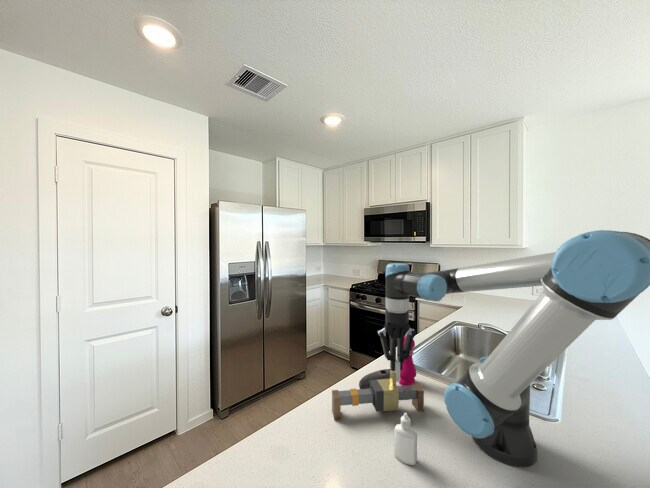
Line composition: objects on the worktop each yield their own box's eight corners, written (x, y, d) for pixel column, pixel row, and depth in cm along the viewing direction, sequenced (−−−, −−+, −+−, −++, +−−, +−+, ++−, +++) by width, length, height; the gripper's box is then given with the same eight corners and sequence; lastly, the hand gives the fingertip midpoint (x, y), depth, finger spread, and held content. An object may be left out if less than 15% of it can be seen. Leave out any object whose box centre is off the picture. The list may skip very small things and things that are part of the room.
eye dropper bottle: (407, 470, 66) (407, 423, 65) (391, 454, 71) (391, 409, 70) (419, 463, 68) (420, 417, 67) (403, 447, 73) (403, 405, 72)
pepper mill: (417, 388, 101) (417, 336, 100) (397, 386, 102) (398, 335, 101) (415, 378, 108) (415, 330, 107) (396, 377, 109) (396, 329, 109)
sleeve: (390, 397, 92) (390, 367, 91) (398, 409, 85) (398, 377, 85) (376, 398, 91) (376, 368, 91) (383, 411, 85) (383, 378, 84)
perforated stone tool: (361, 396, 96) (361, 378, 96) (356, 388, 101) (356, 370, 101) (398, 390, 100) (398, 372, 99) (391, 383, 105) (391, 365, 104)
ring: (376, 398, 91) (376, 379, 91) (383, 411, 85) (383, 390, 84) (370, 399, 91) (370, 380, 91) (376, 411, 84) (376, 391, 84)
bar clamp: (417, 403, 92) (417, 382, 92) (423, 411, 88) (423, 390, 87) (332, 410, 88) (332, 389, 88) (334, 420, 84) (334, 397, 83)
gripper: (410, 306, 92) (409, 372, 93) (374, 307, 91) (374, 374, 92) (420, 312, 85) (420, 384, 86) (381, 313, 83) (381, 387, 84)
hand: (396, 379), depth 89 cm, fingers closed
